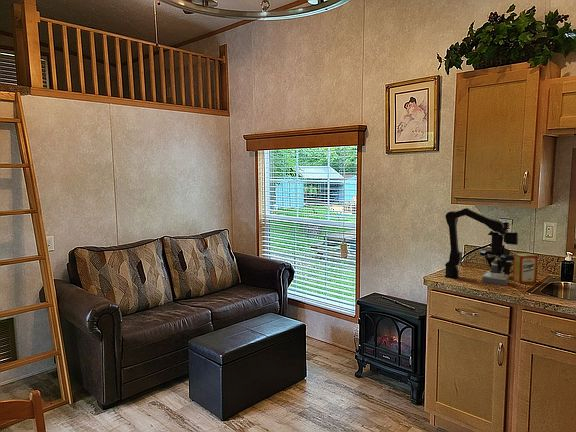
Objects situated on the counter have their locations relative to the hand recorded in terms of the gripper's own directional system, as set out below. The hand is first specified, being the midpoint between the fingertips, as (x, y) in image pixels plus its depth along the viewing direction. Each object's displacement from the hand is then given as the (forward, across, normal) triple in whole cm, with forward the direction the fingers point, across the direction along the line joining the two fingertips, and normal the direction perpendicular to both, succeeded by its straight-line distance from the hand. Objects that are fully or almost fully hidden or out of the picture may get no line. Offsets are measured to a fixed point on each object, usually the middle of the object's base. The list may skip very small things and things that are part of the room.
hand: (495, 270), depth 234 cm
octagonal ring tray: (+7, 0, 0) cm, 7 cm away
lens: (+2, 0, 0) cm, 2 cm away
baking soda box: (+7, -5, -16) cm, 19 cm away
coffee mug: (+7, +7, -15) cm, 18 cm away
